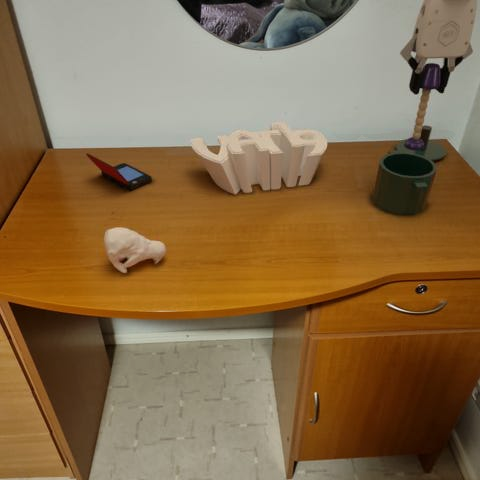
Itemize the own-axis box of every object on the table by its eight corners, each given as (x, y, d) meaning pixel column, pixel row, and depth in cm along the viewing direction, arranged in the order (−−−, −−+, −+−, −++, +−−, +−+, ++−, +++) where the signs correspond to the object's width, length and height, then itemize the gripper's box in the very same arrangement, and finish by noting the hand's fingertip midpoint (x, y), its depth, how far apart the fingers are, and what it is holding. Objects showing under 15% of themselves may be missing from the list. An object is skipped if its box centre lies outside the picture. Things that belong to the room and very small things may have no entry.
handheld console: (154, 181, 124) (150, 153, 119) (119, 196, 118) (114, 168, 113) (124, 165, 130) (120, 138, 125) (90, 179, 124) (84, 152, 119)
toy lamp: (400, 148, 107) (419, 66, 95) (403, 140, 110) (422, 60, 98) (422, 152, 105) (445, 69, 94) (424, 143, 108) (447, 62, 97)
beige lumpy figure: (101, 221, 94) (163, 218, 97) (106, 257, 100) (164, 253, 103) (103, 239, 90) (167, 236, 93) (107, 276, 95) (168, 271, 98)
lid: (432, 140, 142) (439, 116, 137) (453, 161, 132) (461, 136, 127) (388, 143, 140) (393, 118, 135) (405, 164, 131) (412, 139, 126)
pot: (409, 181, 124) (418, 146, 117) (438, 219, 111) (451, 181, 104) (361, 184, 123) (368, 148, 116) (386, 223, 110) (395, 185, 103)
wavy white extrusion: (199, 198, 118) (197, 157, 110) (190, 167, 129) (187, 128, 122) (335, 184, 123) (341, 143, 116) (315, 155, 134) (319, 117, 127)
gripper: (416, -9, 83) (393, 100, 96) (508, -12, 85) (473, 96, 98) (400, -18, 89) (380, 87, 101) (487, -20, 90) (457, 83, 103)
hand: (426, 90), depth 99 cm, fingers closed on toy lamp, 4 cm apart
